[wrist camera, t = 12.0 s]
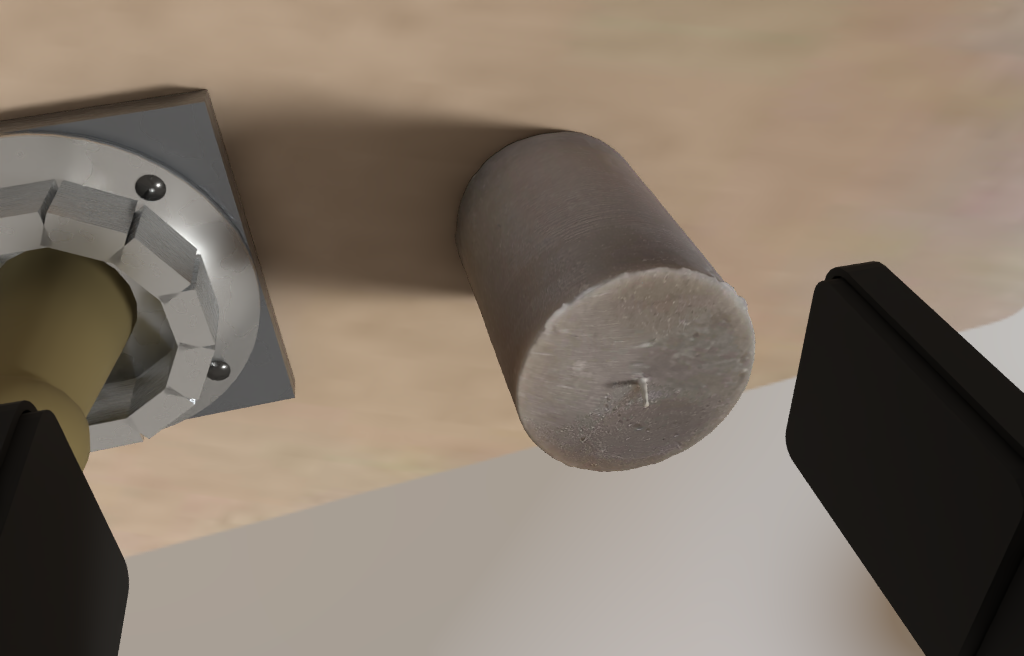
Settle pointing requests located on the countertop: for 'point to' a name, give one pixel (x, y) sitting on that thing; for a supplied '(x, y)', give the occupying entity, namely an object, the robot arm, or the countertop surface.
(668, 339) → the pillar candle
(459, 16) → the countertop surface
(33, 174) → the rosette plate
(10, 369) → the olive knobbed peg
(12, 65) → the countertop surface
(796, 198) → the countertop surface
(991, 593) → the robot arm
